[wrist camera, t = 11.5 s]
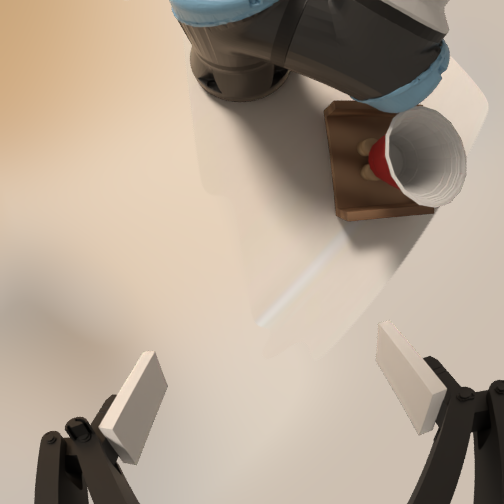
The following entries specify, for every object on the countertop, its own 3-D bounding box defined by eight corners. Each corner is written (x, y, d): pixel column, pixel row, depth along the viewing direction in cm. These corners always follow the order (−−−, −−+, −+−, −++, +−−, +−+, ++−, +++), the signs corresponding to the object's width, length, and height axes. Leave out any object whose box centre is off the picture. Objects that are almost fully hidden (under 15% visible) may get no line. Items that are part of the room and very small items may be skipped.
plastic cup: (396, 110, 33) (442, 92, 21) (427, 178, 35) (478, 182, 24) (335, 139, 34) (368, 125, 23) (371, 210, 37) (413, 226, 25)
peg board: (323, 111, 38) (333, 100, 32) (403, 112, 37) (422, 104, 31) (335, 215, 42) (348, 221, 36) (414, 208, 41) (434, 213, 35)
